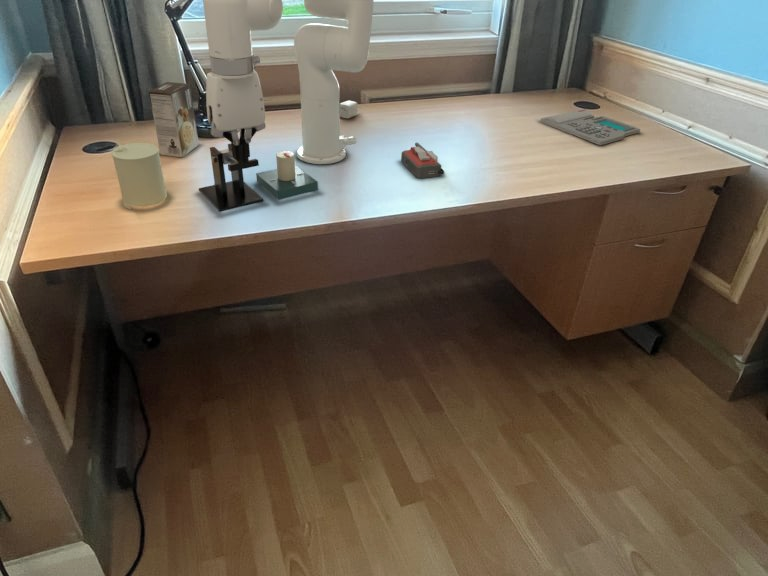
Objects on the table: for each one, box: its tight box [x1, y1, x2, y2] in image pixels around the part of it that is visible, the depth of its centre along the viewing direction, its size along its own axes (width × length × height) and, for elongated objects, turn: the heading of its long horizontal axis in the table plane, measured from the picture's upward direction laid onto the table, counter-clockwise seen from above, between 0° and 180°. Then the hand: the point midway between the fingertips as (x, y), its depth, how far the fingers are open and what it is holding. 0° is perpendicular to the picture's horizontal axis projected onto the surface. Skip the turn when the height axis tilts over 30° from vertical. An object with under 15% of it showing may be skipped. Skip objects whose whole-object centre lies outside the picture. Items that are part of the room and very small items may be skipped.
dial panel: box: [255, 164, 319, 201], centre depth 133 cm, size 10×11×3 cm
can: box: [111, 142, 168, 211], centre depth 123 cm, size 9×9×12 cm
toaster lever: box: [219, 148, 260, 172], centre depth 120 cm, size 12×6×2 cm, turn 35°
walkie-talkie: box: [400, 142, 445, 179], centre depth 148 cm, size 9×4×20 cm
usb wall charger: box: [339, 99, 361, 119], centre depth 178 cm, size 4×7×4 cm, turn 145°
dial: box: [275, 150, 296, 181], centre depth 131 cm, size 4×4×6 cm
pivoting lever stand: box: [198, 143, 264, 213], centre depth 125 cm, size 12×10×12 cm
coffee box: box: [148, 81, 200, 158], centre depth 146 cm, size 9×6×16 cm
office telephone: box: [540, 109, 641, 146], centre depth 177 cm, size 23×3×20 cm
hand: (241, 161), depth 116 cm, fingers closed
